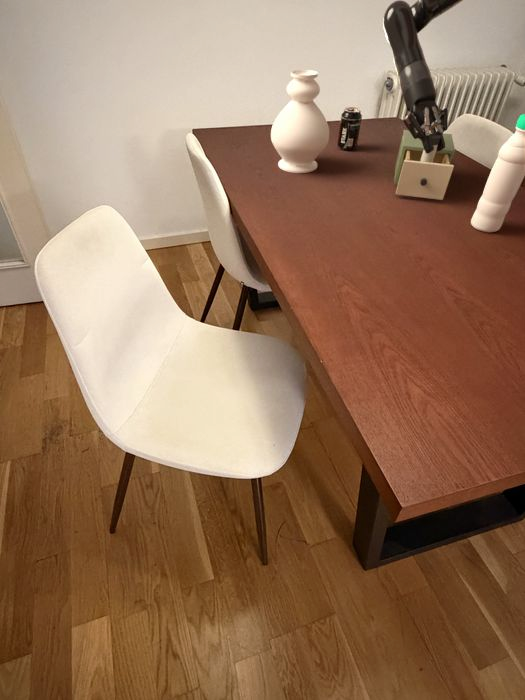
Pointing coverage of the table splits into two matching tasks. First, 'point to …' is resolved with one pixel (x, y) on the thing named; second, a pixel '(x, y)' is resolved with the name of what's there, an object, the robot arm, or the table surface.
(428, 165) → the drawer
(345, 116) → the beverage can
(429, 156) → the small capped bottle
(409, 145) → the cabinet
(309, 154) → the decorative vase
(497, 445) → the table surface
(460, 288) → the table surface
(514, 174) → the water bottle
